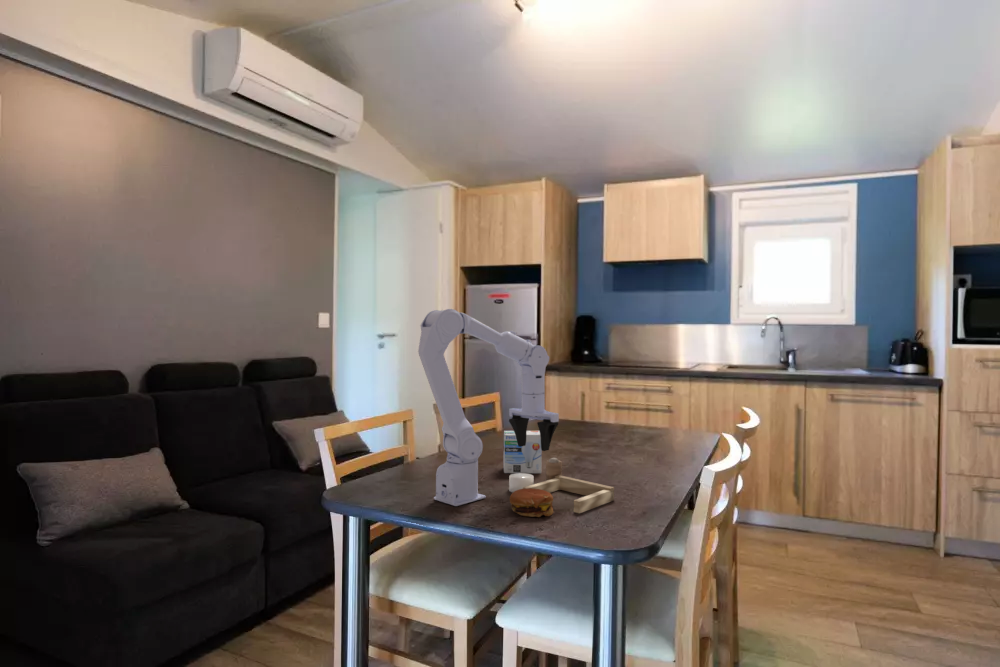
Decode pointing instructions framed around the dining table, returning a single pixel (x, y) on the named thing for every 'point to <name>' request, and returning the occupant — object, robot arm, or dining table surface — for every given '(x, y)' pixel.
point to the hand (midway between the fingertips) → (533, 448)
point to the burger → (532, 502)
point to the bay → (579, 491)
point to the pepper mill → (553, 468)
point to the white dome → (520, 481)
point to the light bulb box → (522, 453)
